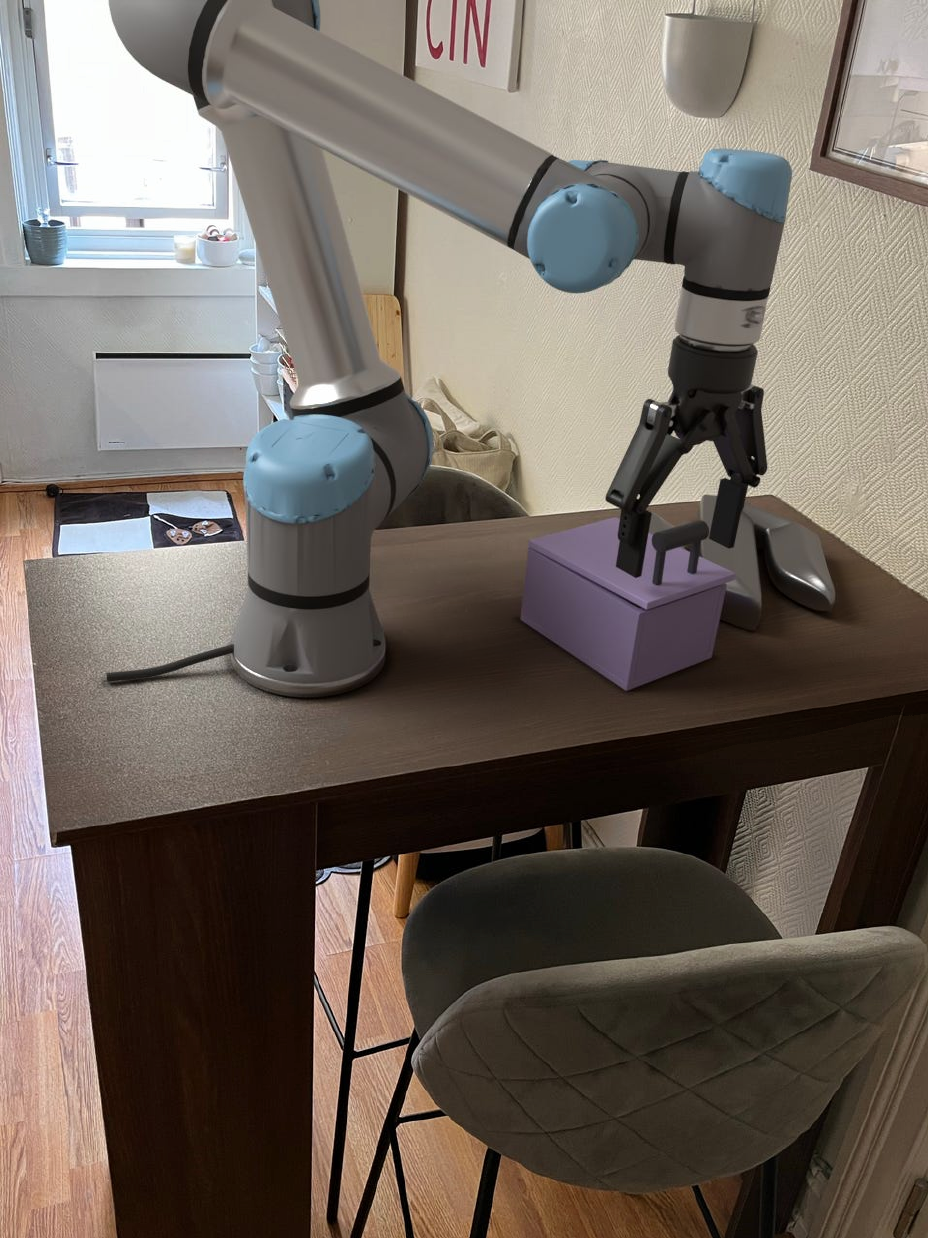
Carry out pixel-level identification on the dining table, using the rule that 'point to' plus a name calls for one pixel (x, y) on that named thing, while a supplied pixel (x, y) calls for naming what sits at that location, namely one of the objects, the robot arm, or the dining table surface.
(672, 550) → the file box lid
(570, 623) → the box
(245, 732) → the dining table surface
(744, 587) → the emblem
